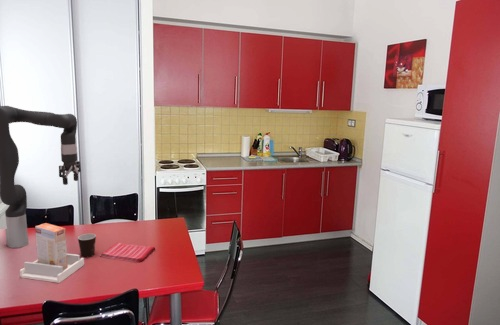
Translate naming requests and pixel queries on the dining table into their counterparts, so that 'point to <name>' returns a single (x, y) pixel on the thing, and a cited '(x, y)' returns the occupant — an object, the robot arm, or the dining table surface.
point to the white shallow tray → (51, 269)
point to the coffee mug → (87, 244)
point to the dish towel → (128, 252)
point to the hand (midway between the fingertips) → (70, 182)
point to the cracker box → (51, 245)
